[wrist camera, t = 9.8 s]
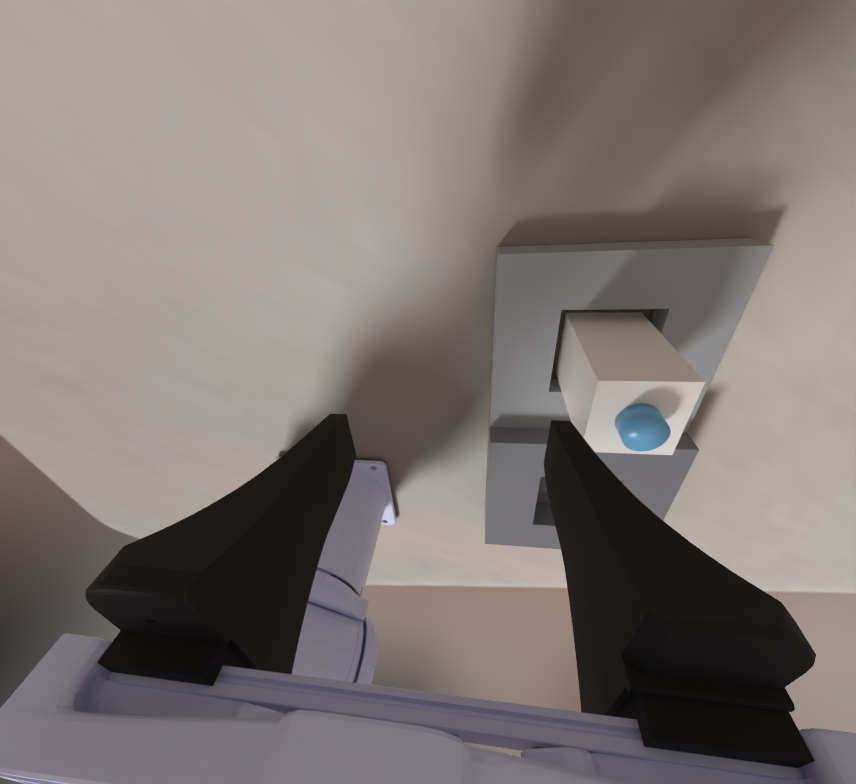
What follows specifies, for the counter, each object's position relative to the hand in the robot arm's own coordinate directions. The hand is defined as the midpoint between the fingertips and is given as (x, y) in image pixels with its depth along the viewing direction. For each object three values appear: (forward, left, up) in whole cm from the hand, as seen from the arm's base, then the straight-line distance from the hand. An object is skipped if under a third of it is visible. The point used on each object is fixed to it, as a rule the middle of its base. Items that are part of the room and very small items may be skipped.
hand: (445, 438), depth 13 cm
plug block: (+8, -2, -10) cm, 13 cm away
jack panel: (+8, -7, -10) cm, 15 cm away
